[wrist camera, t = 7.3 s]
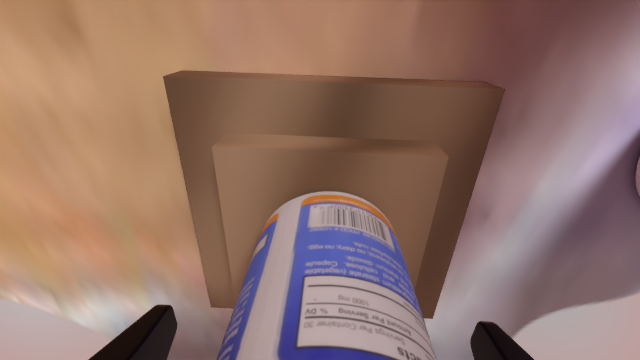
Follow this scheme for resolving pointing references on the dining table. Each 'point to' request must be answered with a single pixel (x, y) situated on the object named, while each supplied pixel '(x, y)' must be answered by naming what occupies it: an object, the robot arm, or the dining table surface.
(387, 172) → the walnut stand
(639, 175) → the pill bottle
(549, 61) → the dining table surface
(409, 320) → the pill bottle
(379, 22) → the dining table surface
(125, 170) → the dining table surface
